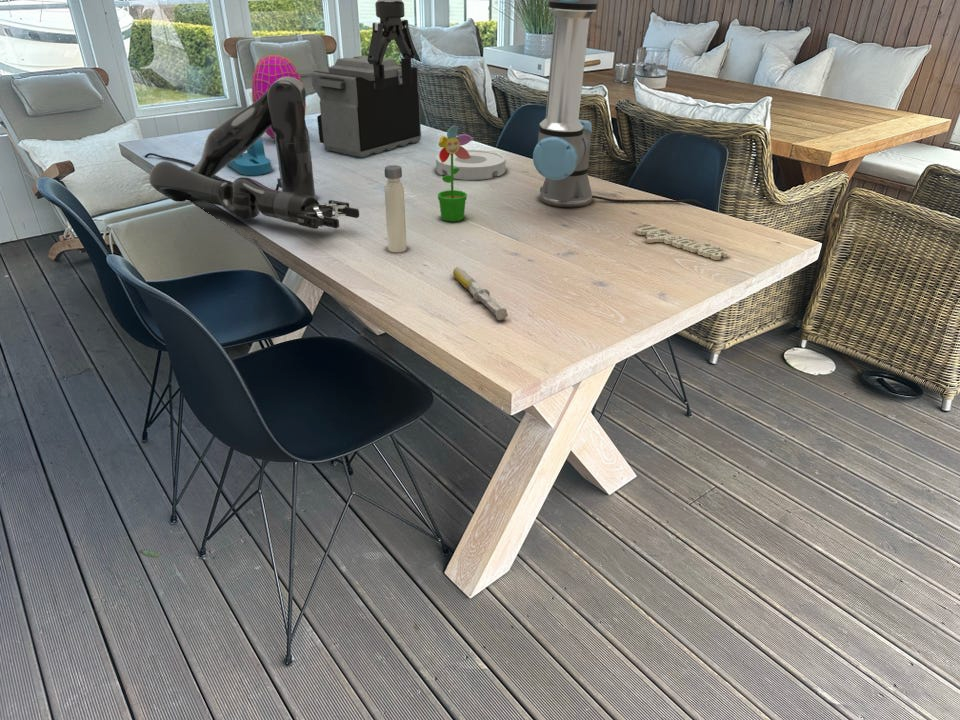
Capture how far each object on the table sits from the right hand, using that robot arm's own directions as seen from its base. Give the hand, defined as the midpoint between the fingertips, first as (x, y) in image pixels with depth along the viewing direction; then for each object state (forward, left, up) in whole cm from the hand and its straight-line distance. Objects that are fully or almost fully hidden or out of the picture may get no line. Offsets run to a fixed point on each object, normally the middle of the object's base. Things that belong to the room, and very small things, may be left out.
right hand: (394, 87), depth 190 cm
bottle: (-22, +38, -31) cm, 54 cm away
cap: (-22, +38, -11) cm, 45 cm away
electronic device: (+41, -48, -31) cm, 70 cm away
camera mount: (+59, -3, -31) cm, 66 cm away
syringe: (-52, +54, -31) cm, 81 cm away
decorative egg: (+76, -40, -31) cm, 91 cm away
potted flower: (-24, +12, -31) cm, 41 cm away
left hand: (-9, +39, -25) cm, 47 cm away
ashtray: (-7, -34, -31) cm, 47 cm away
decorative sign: (-83, +4, -31) cm, 89 cm away
